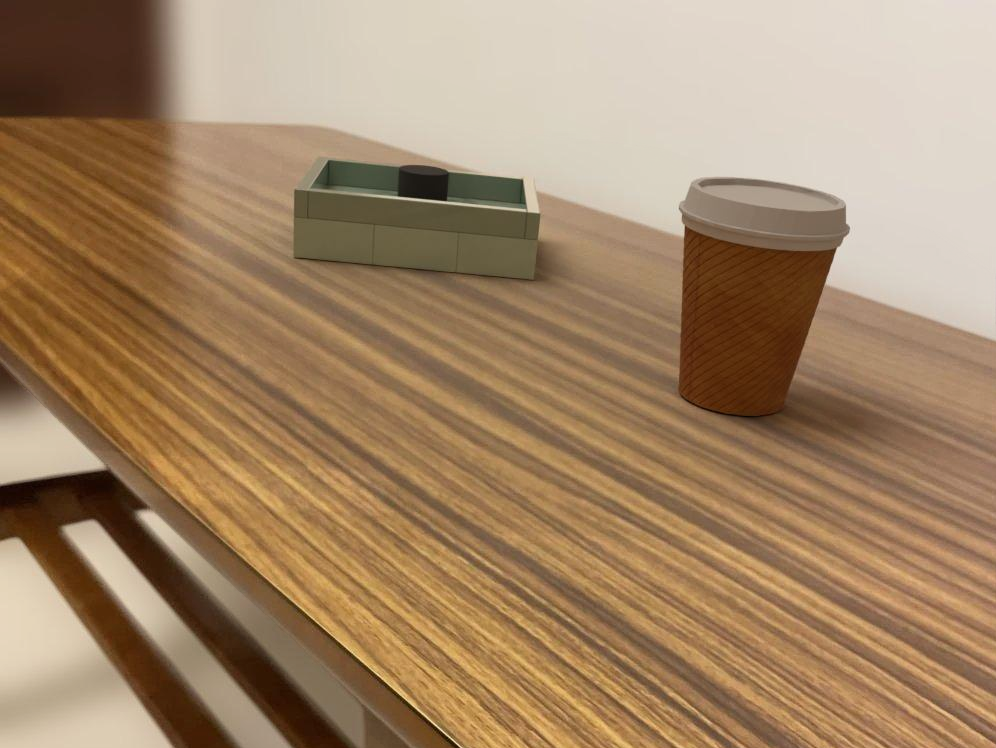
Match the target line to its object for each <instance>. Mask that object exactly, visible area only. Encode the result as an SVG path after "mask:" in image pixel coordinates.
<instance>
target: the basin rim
mask: <svg viewBox="0 0 996 748" xmlns="http://www.w3.org/2000/svg"><path fill="white" fill-rule="evenodd" d="M404 165H405V164H396V163H386V162H376V161H369V160H368V161H366V160H357V159H349V158H348V159H346V158H337V157H328V156H327V157H326V156H317V157H316V158H315V160H314V161H313V163H312V164H311V165H310V167H309V169H308V170H307V171H306V173H305V174H304V176H303V177H302V178H301V180H300V181H299V182H298V184H297V185H296V187H295V188H294V189H293V218H294V217H302V218H307V217H308V218H314V219H324V220H334V221H345V222H355V223H365V224H376V225H386V226H396V227H407V228H417V229H427V230H438V231H448V232H458V233H469V234H479V235H489V236H500V237H510V238H520V239H524V238H525V239H531V240H539V234H540V233H539V232H540V222H541V209H540V204H539V199H538V193H537V187H536V182H535V178H533V177H524V176H516V175H507V174H497V173H495V174H494V173H487V172H486V173H485V172H475V171H465V170H456V169H448V168H447V169H445V168H444V169H445V170H447V171H448V172H449V179H448V194H447V196H451V197H461V198H471V199H481V200H491V201H502V202H512V203H520V204H521V209H517V208H507V207H497V206H486V205H476V204H466V203H456V202H446V201H436V200H426V199H416V198H405V197H395V196H385V195H375V194H365V193H355V192H345V191H335V190H324V189H325V188H326V186H327V184H330V185H340V186H350V187H360V188H370V189H381V190H391V191H398V178H399V167H401V166H404Z"/></svg>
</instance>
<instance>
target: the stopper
mask: <svg viewBox="0 0 996 748" xmlns="http://www.w3.org/2000/svg"><path fill="white" fill-rule="evenodd" d="M403 165H404V166H401V167H399V178H398V196H397V197H405V198H416V199H426V200H436V201H446V202H447V194H448V179H449V172H448V171H447V170H448V169H447V170H445V168H441V167H437V166H432V165H424V164H406V165H405V164H403Z"/></svg>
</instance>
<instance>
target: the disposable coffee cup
mask: <svg viewBox="0 0 996 748" xmlns="http://www.w3.org/2000/svg"><path fill="white" fill-rule="evenodd" d="M678 210H679V212H680V214H681V223H682V224H683V225H684V229H683V230H684V232H683V233H684V235H683V249H682V250H683V254H682V255H683V259H682V282H681V286H682V287H681V289H682V290H681V313H680V314H681V315H680V344H679V370H678V372H679V374H678V393H679V394H680V396H681V397H683V398H684V399H685V400H686V401H689V402H690V403H692V404H694V405H696V406H699V407H701V408H703V409H704V408H705V409H707V410H710V411H714V412H718V413H721V414H726V415H735V416H747V417H758V416H766V415H771V414H775V413H777V412H780V411H781V410H782V409H783V408H784V406H785V403H786V400H787V396H788V393H789V391H790V388H791V384H792V381H793V378H794V376H795V373H796V369H797V366H798V364H799V361H800V358H801V356H802V352H803V350H804V347H805V344H806V341H807V337H808V335H809V331H810V330H811V326H812V323H813V319H814V317H815V315H816V312H817V308H818V306H819V303H820V299H821V297H822V294H823V291H824V288H825V285H826V283H827V278H828V276H829V273H830V271H831V267H832V264H833V262H834V259H835V255H836V253H837V249H838V248H840V247H841V246H842V244H843V242H844V238H846V237H847V236H848V235H849V234H850V231H851V227H850V225H849V224H848V223H847V203H846V202H845V200H843V199H842V198H840V197H838V196H836V195H834V194H831V193H828V192H825V191H822V190H819V189H814V188H810V187H806V186H802V185H797V184H792V183H787V182H782V181H775V180H768V179H761V178H760V179H759V178H752V177H751V178H750V177H738V176H737V177H736V176H707V177H706V176H705V177H700V178H696V179H694V180H692V181H691V183H690V185H689V187H688V191H687V192H686V196H685V198H684V200H682V201H680V202H679V204H678Z"/></svg>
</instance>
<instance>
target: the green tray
mask: <svg viewBox="0 0 996 748" xmlns="http://www.w3.org/2000/svg"><path fill="white" fill-rule="evenodd" d="M324 190H335V191H345V192H355V193H365V194H375V195H385V196H395V197H397V196H398V191H391V190H381V189H370V188H360V187H350V186H340V185H330V184H327V186H326V188H325V189H324ZM447 202H456V203H466V204H476V205H486V206H497V207H507V208H517V209H521V204H520V203H512V202H502V201H491V200H481V199H471V198H461V197H451V196H447ZM538 240H539V239H538ZM538 240H531V239H525V238H524V239H520V238H510V237H500V236H489V235H479V234H469V233H458V232H448V231H438V230H427V229H417V228H407V227H396V226H386V225H376V224H365V223H355V222H345V221H334V220H324V219H314V218H308V217H307V218H302V217H294V216H293V240H292V241H293V243H292V244H293V247H292V249H293V251H292V256H293V258H295V259H296V258H298V259H308V260H319V261H329V262H339V263H351V264H361V265H370V266H371V265H372V266H384V267H392V268H403V269H404V268H405V269H413V270H426V271H435V272H445V273H446V272H447V273H456V274H467V275H476V276H477V275H478V276H486V277H487V276H488V277H498V278H507V279H509V278H510V279H520V280H530V281H534V280H535V274H536V273H535V271H536V264H537V263H536V261H537V251H538V243H539V241H538Z"/></svg>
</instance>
